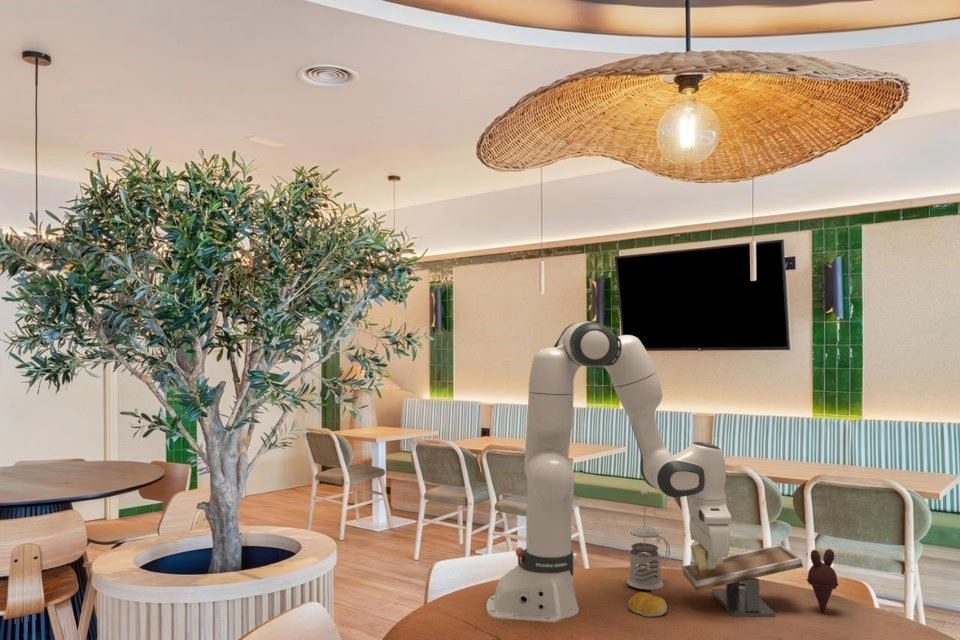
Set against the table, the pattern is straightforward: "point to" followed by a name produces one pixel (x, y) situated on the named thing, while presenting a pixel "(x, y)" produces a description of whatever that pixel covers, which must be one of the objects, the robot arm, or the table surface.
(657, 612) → the bread roll
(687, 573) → the balance beam
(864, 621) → the table surface
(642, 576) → the french press
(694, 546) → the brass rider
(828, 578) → the icecream
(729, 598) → the pivot stand
